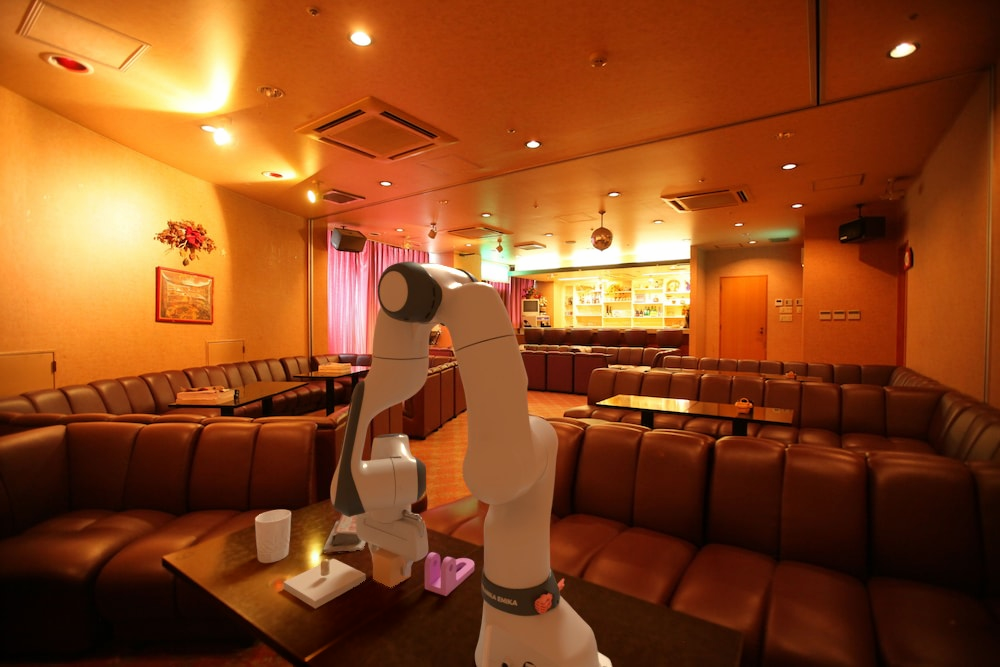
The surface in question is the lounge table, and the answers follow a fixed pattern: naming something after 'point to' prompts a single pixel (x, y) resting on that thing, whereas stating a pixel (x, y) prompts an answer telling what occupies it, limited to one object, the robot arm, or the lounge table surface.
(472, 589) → the lounge table surface
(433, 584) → the bracket
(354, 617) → the lounge table surface
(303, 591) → the pin plate
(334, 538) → the packaged product
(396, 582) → the solid orange cube
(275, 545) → the white cup
